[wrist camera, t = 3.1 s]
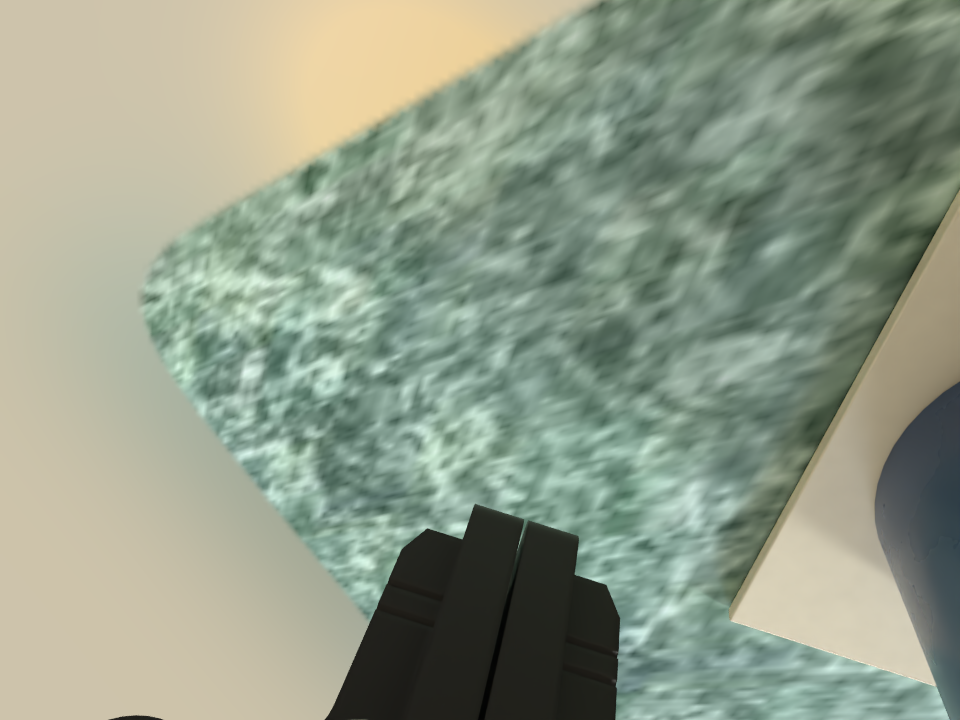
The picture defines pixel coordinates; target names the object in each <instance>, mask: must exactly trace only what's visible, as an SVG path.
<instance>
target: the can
mask: <svg viewBox="0 0 960 720" xmlns="http://www.w3.org/2000/svg"><path fill="white" fill-rule="evenodd" d="M875 524H876V529H877V534H878V539H879V541H880V544H881V546H882V549H883V551H884V554H885V556H886V559H887V561H888V564H889V567H890V569H891V572H892V574H893V577H894V579H895V582H896V584H897V587H898V589H899V592H900V594H901V597H902V600H903V602H904V605H905V607H906V610H907V612H908V615H909V617H910V620H911V622H912V625H913V627H914V630H915V633H916V635H917V638H918V640H919V643H920V645H921V648H922V650H923V653H924V655H925V658H926V660H927V663H928V665H929V668H930V671H931V673H932V676H933V678H934V681H935V683H936V686H937V688H938V691H939V693H940V696H941V698H942V701H943V704H944V706H945V709H946V711H947V714H948V716H949V719H950V720H960V382H958V383H957V384H955V385H954V386H952V387H951V388H949V389H948V390H946V391H945V392H943V393H942V394H941V395H940V396H939V397H937V398H936V399H935V400H934V401H933V402H931V403H930V404H929V405H928V406H927V407H926V408H924V409H923V410H922V411H921V413H920V414H919V415H918V416H917V417H916V418H915V419H914V420H913V421H912V422H911V423H910V424H909V425H908V427H907V428H906V429H905V431H904V432H903V433H902V435H901V436H900V438H899V439H898V440H897V442H896V443H895V445H894V446H893V448H892V450H891V452H890V454H889V456H888V458H887V460H886V462H885V464H884V466H883V469H882V472H881V475H880V478H879V481H878V484H877V491H876V497H875Z"/></svg>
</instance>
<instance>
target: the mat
mask: <svg viewBox="0 0 960 720" xmlns="http://www.w3.org/2000/svg"><path fill="white" fill-rule="evenodd" d="M958 382H960V190H959V191H958V193H957V195H956V197H955V199H954V200H953V202H952V204H951V206H950V208H949V210H948V211H947V213H946V215H945V217H944V219H943V221H942V222H941V224H940V226H939V228H938V230H937V231H936V233H935V235H934V237H933V239H932V241H931V242H930V244H929V246H928V248H927V250H926V251H925V253H924V255H923V257H922V259H921V261H920V262H919V264H918V266H917V268H916V270H915V271H914V273H913V275H912V277H911V279H910V281H909V282H908V284H907V286H906V288H905V290H904V291H903V293H902V295H901V297H900V299H899V301H898V302H897V304H896V306H895V308H894V310H893V311H892V313H891V315H890V317H889V319H888V321H887V322H886V324H885V326H884V328H883V330H882V331H881V333H880V335H879V337H878V339H877V341H876V342H875V344H874V346H873V348H872V350H871V351H870V353H869V355H868V357H867V359H866V361H865V362H864V364H863V366H862V368H861V370H860V371H859V373H858V375H857V377H856V379H855V381H854V382H853V384H852V386H851V388H850V390H849V391H848V393H847V395H846V397H845V399H844V401H843V402H842V404H841V406H840V408H839V410H838V411H837V413H836V415H835V417H834V419H833V421H832V422H831V424H830V426H829V428H828V430H827V431H826V433H825V435H824V437H823V439H822V441H821V442H820V444H819V446H818V448H817V450H816V451H815V453H814V455H813V457H812V459H811V461H810V462H809V464H808V466H807V468H806V470H805V471H804V473H803V475H802V477H801V479H800V481H799V482H798V484H797V486H796V488H795V490H794V491H793V493H792V495H791V497H790V499H789V501H788V502H787V504H786V506H785V508H784V510H783V511H782V513H781V515H780V517H779V519H778V521H777V522H776V524H775V526H774V528H773V530H772V531H771V533H770V535H769V537H768V539H767V541H766V542H765V544H764V546H763V548H762V550H761V551H760V553H759V555H758V557H757V559H756V561H755V562H754V564H753V566H752V568H751V570H750V571H749V573H748V575H747V577H746V579H745V581H744V582H743V584H742V586H741V588H740V590H739V591H738V593H737V595H736V597H735V599H734V601H733V602H732V604H731V606H730V608H729V618H730V620H731V621H733V622H736V623H739V624H742V625H745V626H749V627H752V628H755V629H758V630H761V631H764V632H767V633H770V634H774V635H777V636H780V637H783V638H786V639H789V640H792V641H795V642H799V643H802V644H805V645H808V646H811V647H814V648H817V649H820V650H824V651H827V652H830V653H833V654H836V655H839V656H842V657H845V658H849V659H852V660H855V661H858V662H861V663H864V664H867V665H870V666H874V667H877V668H880V669H883V670H886V671H889V672H892V673H896V674H899V675H902V676H905V677H908V678H911V679H914V680H917V681H921V682H924V683H927V684H930V685H933V686H936V683H935V681H934V678H933V676H932V673H931V671H930V668H929V665H928V663H927V660H926V658H925V655H924V653H923V650H922V648H921V645H920V643H919V640H918V638H917V635H916V633H915V630H914V627H913V625H912V622H911V620H910V617H909V615H908V612H907V610H906V607H905V605H904V602H903V600H902V597H901V594H900V592H899V589H898V587H897V584H896V582H895V579H894V577H893V574H892V572H891V569H890V567H889V564H888V561H887V559H886V556H885V554H884V551H883V549H882V546H881V544H880V541H879V539H878V534H877V529H876V524H875V497H876V491H877V484H878V481H879V478H880V475H881V472H882V469H883V466H884V464H885V462H886V460H887V458H888V456H889V454H890V452H891V450H892V448H893V446H894V445H895V443H896V442H897V440H898V439H899V438H900V436H901V435H902V433H903V432H904V431H905V429H906V428H907V427H908V425H909V424H910V423H911V422H912V421H913V420H914V419H915V418H916V417H917V416H918V415H919V414H920V413H921V411H922V410H923V409H924V408H926V407H927V406H928V405H929V404H930V403H931V402H933V401H934V400H935V399H936V398H937V397H939V396H940V395H941V394H942V393H943V392H945V391H946V390H948V389H949V388H951V387H952V386H954V385H955V384H957V383H958ZM936 687H937V686H936Z"/></svg>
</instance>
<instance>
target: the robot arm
mask: <svg viewBox="0 0 960 720" xmlns="http://www.w3.org/2000/svg"><path fill="white" fill-rule="evenodd" d="M523 523H524V519H521V518H518V517H515V516H512V515H509V514H505V513H502V512H499V511H496V510H493V509H489V508H486V507H483V506H480V505H477V504H475V505H474V508H473V511H472V514H471V517H470V520H469V523H468V525H467V528H466V531H465V534H464V537H463V540H462V539H459V538H456V537H453V536H450V535H446V534H443V533H440V532H437V531H434V530H431V529H426V530H425V531H424V532H422V533H421V534H420V535H419V536H417V537H416V538H415V539H414V540H413V541H411V542H410V543H409V544H408V545H406V546H405V547H404V548H403V549H402V550H401V552H400V555H399V557H398V559H397V562H396V564H395V566H394V568H393V571H392V573H391V575H390V578H389V581H388V584H387V585H386V587H385V589H384V591H383V594H382V596H381V598H380V601H379V603H378V606H377V609H376V610H375V612H374V614H373V617H372V619H371V621H370V624H369V626H368V628H367V630H366V633H365V635H364V637H363V640H362V642H361V644H360V647H359V649H358V651H357V653H356V656H355V658H354V660H353V663H352V665H351V667H350V670H349V672H348V674H347V676H346V679H345V681H344V683H343V686H342V688H341V690H340V692H339V695H338V697H337V699H336V702H335V704H334V706H333V708H332V710H331V711H330V713H329V715H328V716H327V718H326V719H325V720H615V714H616V693H617V688H616V682H617V671H618V659H617V655H618V650H619V629H620V617H619V615H618V612H617V610H616V607H615V605H614V603H613V600H612V598H611V595H610V593H609V590H608V588H607V585H605V584H602V583H598V582H595V581H592V580H589V579H586V578H583V577H580V576H576V575H575V567H576V559H577V551H578V543H579V537H578V536H576V535H573V534H570V533H567V532H564V531H560V530H557V529H554V528H551V527H548V526H545V525H541V524H538V523H535V522H532V521H529V520H528V522H527V524H526V527H525V530H524V533H523V536H522V539H521V542H520V545H519V541H520V536H521V532H522V528H523ZM518 545H519V548H518ZM517 549H518V551H517ZM110 720H162V719H159V718H155V717H150V716H137V715H136V716H125V717H119V718H114V719H110Z"/></svg>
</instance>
